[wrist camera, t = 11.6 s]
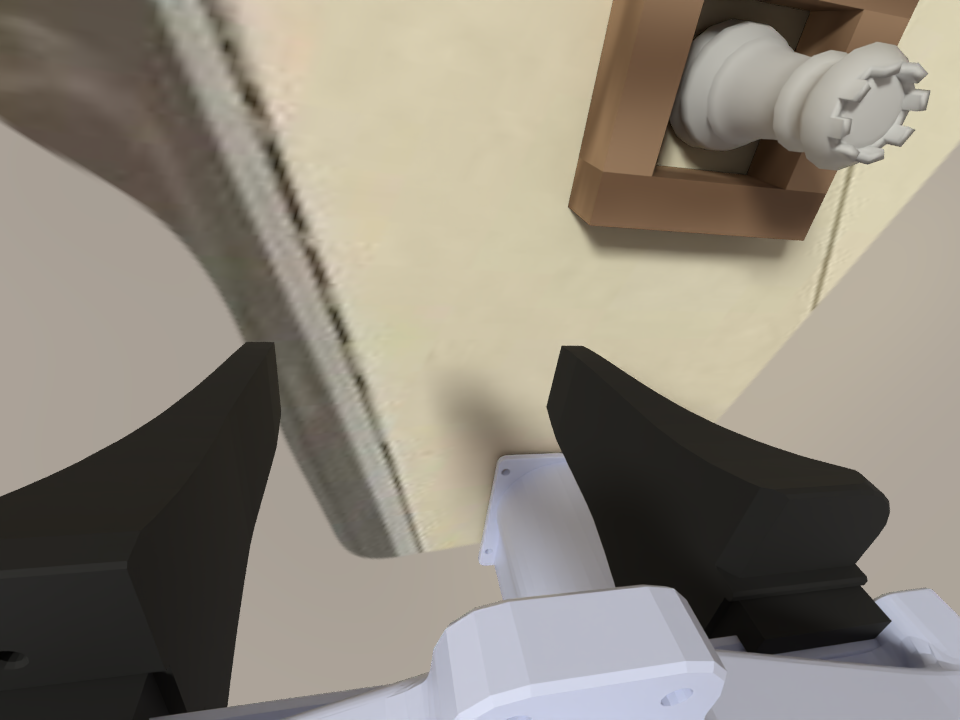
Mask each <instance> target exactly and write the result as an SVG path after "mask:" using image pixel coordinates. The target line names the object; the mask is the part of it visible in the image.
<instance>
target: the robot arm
mask: <svg viewBox="0 0 960 720" xmlns="http://www.w3.org/2000/svg"><path fill="white" fill-rule="evenodd" d="M547 410H548V414H549V418H550V421H551V425H552V428H553V431H554V434H555V437H556V440H557V442H558V444H559V446H560V449H561V451H562V453H546V454H521V455H505V456H502V457H500V458H499V459H498V461H497V465H496V470H495V476H494V481H493V486H492V491H491V496H490V501H489V506H488V511H487V516H486V521H485V526H484V531H483V536H482V541H481V547H480V551H479V557H478V559H479V563H480V564H481V565H495V569H496V573H497V577H498V581H499V586H500V590H501V594H502V597H503V600H502V601H498V602H495V603H491V604H487V605H483V606H479V607H476V608H474V609H472V610H471V611H469V612H467V613H466V614H464V615H463V616H461V617H460V618H458V619H457V620H455V621H453V622H452V623H450V624H449V626H448V627H447V628H446V629H445V631H444V633H443V634H442V636H441V637H440V639H439V641H438V642H437V644H436V646H435V647H434V650H433V656H432V663H431V669H430V672H427V673H424V674H421V675H418V676H415V677H411V678H408V679H405V680H402V681H399V682H396V683H393V684H389V685H381V686H373V687H366V688H360V689H353V690H346V691H339V692H331V693H324V694H317V695H310V696H303V697H295V698H288V699H281V700H274V701H267V702H260V703H253V704H246V705H239V706H232V707H227V705H228V697H229V688H230V680H231V672H232V665H233V656H234V650H235V641H236V634H237V627H238V620H239V614H240V607H241V600H242V593H243V587H244V580H245V574H246V567H247V562H248V556H249V549H250V544H251V539H252V535H253V531H254V526H255V523H256V519H257V515H258V512H259V509H260V505H261V501H262V498H263V494H264V491H265V487H266V484H267V480H268V476H269V473H270V469H271V466H272V462H273V458H274V455H275V451H276V446H277V440H278V433H279V425H280V417H281V405H280V395H279V385H278V375H277V365H276V355H275V345H274V342H246V343H245V344H244V345H242V346H241V347H240V348H239V349H238V350H237V351H236V352H235V353H233V354H232V355H231V356H230V357H229V358H228V359H227V360H226V361H225V362H224V363H223V364H222V365H220V366H219V367H218V368H217V369H216V370H215V371H214V372H213V373H212V374H210V375H209V376H208V377H207V378H206V379H205V380H203V381H202V382H201V383H200V384H199V385H198V386H197V387H195V388H194V389H193V390H192V391H190V392H189V393H188V394H186V395H185V396H184V397H183V398H181V399H180V400H179V401H177V402H176V403H175V404H174V405H172V406H171V407H170V408H168V409H167V410H166V411H164V412H163V413H161V414H160V415H159V416H157V417H156V418H154V419H153V420H151V421H150V422H148V423H147V424H145V425H143V426H142V427H140V428H139V429H137V430H135V431H134V432H132V433H131V434H129V435H127V436H126V437H124V438H122V439H120V440H119V441H117V442H115V443H113V444H111V445H109V446H107V447H106V448H104V449H102V450H100V451H98V452H96V453H95V454H93V455H91V456H89V457H87V458H85V459H83V460H81V461H79V462H78V463H75V464H73V465H71V466H69V467H67V468H65V469H63V470H61V471H59V472H56V473H54V474H52V475H50V476H48V477H46V478H43V479H41V480H39V481H36V482H34V483H32V484H30V485H27V486H25V487H23V488H20V489H18V490H15V491H13V492H11V493H8V494H6V495H3V496H1V497H0V720H960V617H959V616H958V615H957V614H956V613H955V612H954V611H953V610H952V609H951V608H950V607H949V606H948V605H947V604H946V603H945V602H944V601H943V600H942V599H941V598H940V597H939V596H938V595H937V594H936V593H935V592H934V591H933V590H932V589H929V588H920V589H911V590H905V591H897V592H889V593H886V594H882V595H880V596H879V597H877V598H875V599H874V600H873V599H872V598H871V597H870V596H869V595H868V594H867V593H866V592H865V590H864V589H863V588H862V587H861V586H860V585H865V583H866V582H867V576H866V575H865V574H864V573H863V572H862V571H861V570H860V569H859V568H858V566H857V565H856V564H855V563H856V562H857V561H858V560H859V559H860V557H861V556H862V554H864V552H865V551H866V550H867V549H868V548H869V546H870V545H871V544H872V543H873V541H874V540H875V539H876V538H877V536H878V535H879V534H880V532H881V531H882V529H883V528H884V526H885V525H886V523H887V520H888V517H889V513H890V507H889V501H888V499H887V498H886V497H885V495H884V494H883V493H882V492H881V491H879V490H878V489H877V488H876V487H875V486H874V485H873V484H872V483H871V482H869V481H868V480H867V479H866V478H865V477H864V476H863V475H862V474H860V473H859V472H857V471H855V470H852V469H848V468H845V467H841V466H837V465H833V464H829V463H826V462H822V461H818V460H814V459H810V458H807V457H803V456H800V455H797V454H794V453H791V452H787V451H784V450H782V449H778V448H775V447H772V446H769V445H767V444H764V443H761V442H758V441H756V440H753V439H751V438H748V437H746V436H743V435H741V434H738V433H736V432H733V431H731V430H728V429H726V428H724V427H721V426H719V425H717V424H715V423H713V422H710V421H708V420H706V419H704V418H702V417H700V416H698V415H696V414H694V413H692V412H690V411H688V410H686V409H685V408H683V407H681V406H679V405H677V404H675V403H674V402H672V401H670V400H669V399H667V398H665V397H663V396H662V395H660V394H658V393H657V392H655V391H653V390H652V389H650V388H648V387H647V386H645V385H644V384H642V383H641V382H639V381H637V380H636V379H634V378H633V377H631V376H630V375H628V374H627V373H625V372H624V371H622V370H621V369H619V368H618V367H616V366H615V365H613V364H612V363H610V362H609V361H607V360H606V359H604V358H603V357H601V356H599V355H598V354H596V353H595V352H593V351H591V350H590V349H588V348H586V347H584V346H561V350H560V354H559V358H558V363H557V367H556V371H555V375H554V379H553V383H552V387H551V391H550V395H549V399H548V403H547ZM504 469H507V470H505V471H503V470H504Z"/></svg>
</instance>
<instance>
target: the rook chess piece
mask: <svg viewBox="0 0 960 720" xmlns="http://www.w3.org/2000/svg"><path fill="white" fill-rule="evenodd" d="M927 74H928V73H927V72H926V71H925V70H924V68H923V67H922V66H921V65H920V64H919V63H911V62H909V60H908V58H907V57H906V56H905V55H904V54H903V52H902V51H901V50H900V49H899V48H898V47H897V46H896V45H892V44H887V43H881V42H875V43H872V44H869V45H866V46H863V47H860V48H857V49H854V50H853V51H852V52H850V53H849V54H847V53H846V52H841V51H835V50H829V51H826V52H823V53H820V54H817V55H814V56H812V57H809V56H806V55H803V54H800V53H796V52H794V50H793V49H792V48H791V47H790V46H789V45H788V43H787V41H786V40H785V39H784V38H783V37H782V36H781V35H780V34H779V33H778V32H777V31H776V30H775V29H774V28H773V27H771V26H769V25H768V24H762V23H757V22H751V21H742V20H737V19H731V20H728V21H725V22H722V23H719V24H716V25H713V26H710V27H709V28H708V29H706V30H705V31H704V32H703V33H702V34H700V35H699V36H698V37H697V38H696V39H695V40H693V41H692V43H691V46H690V50H689V53H688V57H687V60H686V63H685V67H684V70H683V73H682V77H681V80H680V84H679V87H678V90H677V94H676V97H675V100H674V104H673V107H672V110H671V114H670V117H669V121H670V123H671V125H672V127H673V129H674V131H675V134H676V136H677V137H679V138H680V139H681V140H683V141H684V142H685V143H687V144H688V145H690V146H691V147H697V148H703V149H706V150H715V151H728V150H732V149H735V148H738V147H741V146H744V145H747V144H749V143H750V142H753V141H756V140H759V139H774V140H778V143H780V144H781V145H782V146H783V147H785V148H786V149H787V150H788V151H794V152H805V155H806V158H807V159H808V160H809V161H810V162H812V163H813V164H814V165H815V166H816V167H818V168H819V169H827V170H836V171H837V170H840V169H843V168H845V167H848V166H851V165H854V164H857V163H859V162H860V163H864V164H870V163H873V162H876V161H879V160H882V159H884V149H881V148H882V147H883V146H884V145H886V144H890V145H894V146H899V147H901V146H902V145H903V144H904V143H905V141H906V140H907V139H908V138H909V137H910V136H911V134H912V133H913V132H914V131H915V130H914V129H912V128H910V127H907V126H902V124H903V122H904V120H905V118H906V116H907V114H908V112H909V110H911V111H924V110H926V108H927V103H928V99H929V95H930V90H921V89H915V86H914V83H919V82H920V81H921V80H922V79H923V78H924V77H925V76H926V75H927Z"/></svg>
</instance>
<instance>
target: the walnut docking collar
mask: <svg viewBox="0 0 960 720" xmlns="http://www.w3.org/2000/svg"><path fill="white" fill-rule="evenodd" d="M755 1H760V2H765V3H770V4H775V5H781V6H786V7H791V8H796V9H801V10H806V11H811V12H810V14H809V17H808V19H807V22H806V25H805V27H804V30H803V32H802V35H801V37H800V40H799V42H798V45H797V48H796V50H795V52H796V53H800V54H803V55H806V56H809V57H812V56H814V55H817V54H820V53H823V52H826V51H829V50H835V51H841V52H846V53H847V54H849V53H850V52H852V51H853V50H854V49H857V48H860V47H863V46H866V45H869V44H872V43H875V42H881V43H887V44H892V45H896V46H897V45H898V43H899V41H900V39H901V37H902V35H903V33H904V31H905V28H906V26H907V24H908V22H909V20H910V18H911V16H912V14H913V12H914V10H915V8H916V6H917V3H918V1H919V0H755ZM703 3H704V0H613V4H612V8H611V13H610V17H609V22H608V26H607V31H606V35H605V40H604V45H603V49H602V54H601V58H600V63H599V67H598V72H597V77H596V81H595V86H594V90H593V95H592V99H591V104H590V109H589V113H588V118H587V122H586V127H585V131H584V136H583V141H582V145H581V150H580V154H579V159H578V163H577V168H576V173H575V177H574V182H573V186H572V191H571V195H570V200H569V204H568V207H569V208H570V209H571V210H573V211H574V212H575V213H576V214H577V215H578V216H579V217H581V218H582V219H583V220H584V221H585V222H586V223H588V224H589V225H591V226H605V227H619V228H633V229H647V230H661V231H675V232H689V233H703V234H717V235H731V236H745V237H759V238H773V239H787V240H801V241H804V239H805V237H806V235H807V233H808V231H809V228H810V226H811V224H812V222H813V220H814V218H815V216H816V214H817V212H818V210H819V208H820V206H821V203H822V201H823V199H824V197H825V195H826V193H827V191H828V189H829V187H830V185H831V183H832V181H833V178H834V176H835V174H836V172H837V171H836V170H827V169H819V168H818V167H816V166H815V165H814V164H813V163H812V162H810V161H809V160H808V159H807V158H806V155H805V152H794V151H788V150H787V149H786V148H785V147H783V146H782V145H781V144H780V143H778V140H774V139H761V140H760V142H759V145H758V147H757V150H756V152H755V155H754V157H753V160H752V163H751V165H750V168H749V170H748V173H747V175H744V174H734V173H725V172H715V171H706V170H696V169H686V168H677V167H667V166H658V165H655V164H656V161H657V158H658V154H659V151H660V148H661V144H662V141H663V137H664V134H665V131H666V127H667V124H668V121H669V117H670V114H671V110H672V107H673V104H674V100H675V97H676V94H677V90H678V87H679V84H680V80H681V77H682V73H683V70H684V67H685V63H686V60H687V57H688V53H689V50H690V46H691V43H692V40H693V36H694V33H695V30H696V26H697V23H698V19H699V16H700V13H701V9H702V6H703Z"/></svg>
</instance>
